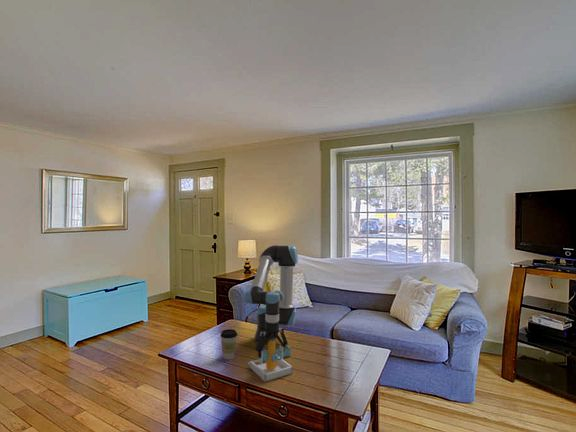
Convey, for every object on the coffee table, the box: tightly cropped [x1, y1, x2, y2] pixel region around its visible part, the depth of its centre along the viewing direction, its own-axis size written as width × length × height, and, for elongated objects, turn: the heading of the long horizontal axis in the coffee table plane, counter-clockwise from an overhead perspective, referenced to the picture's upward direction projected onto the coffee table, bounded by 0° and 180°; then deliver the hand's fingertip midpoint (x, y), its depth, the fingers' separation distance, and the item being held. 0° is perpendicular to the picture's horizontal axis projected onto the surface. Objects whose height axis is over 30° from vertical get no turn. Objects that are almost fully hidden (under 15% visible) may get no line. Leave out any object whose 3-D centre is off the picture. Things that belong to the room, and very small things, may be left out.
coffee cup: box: [220, 328, 238, 360], centre depth 182 cm, size 10×10×15 cm
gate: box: [263, 344, 292, 363], centre depth 181 cm, size 18×2×6 cm, turn 122°
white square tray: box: [246, 355, 294, 383], centre depth 169 cm, size 17×21×4 cm
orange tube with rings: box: [262, 338, 282, 369], centre depth 167 cm, size 12×10×15 cm
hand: (271, 360), depth 167 cm, fingers closed on orange tube with rings, 12 cm apart
